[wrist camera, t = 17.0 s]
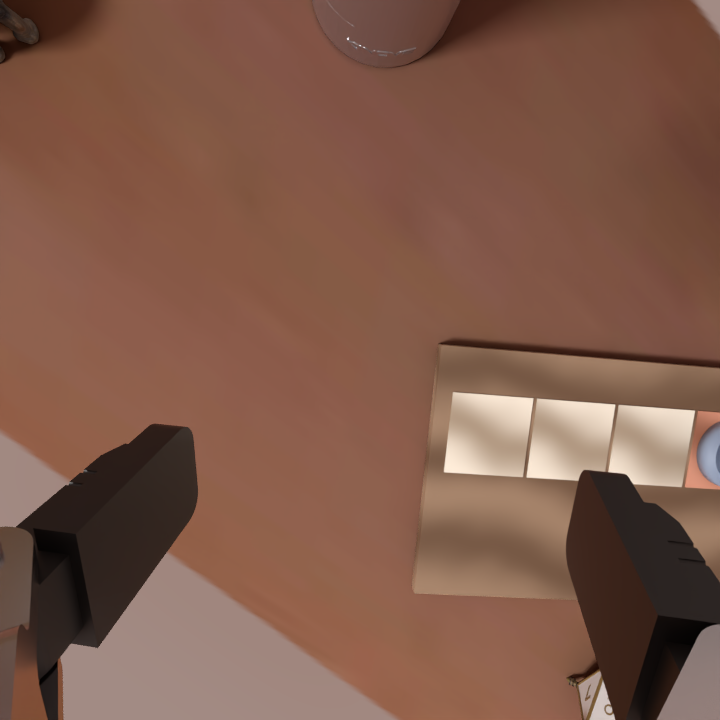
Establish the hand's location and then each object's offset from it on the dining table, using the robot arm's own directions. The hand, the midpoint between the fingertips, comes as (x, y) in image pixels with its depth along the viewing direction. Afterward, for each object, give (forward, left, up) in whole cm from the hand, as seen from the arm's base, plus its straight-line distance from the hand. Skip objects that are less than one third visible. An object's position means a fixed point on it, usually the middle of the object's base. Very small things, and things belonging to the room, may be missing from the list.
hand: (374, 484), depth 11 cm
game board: (+8, +20, -25) cm, 33 cm away
